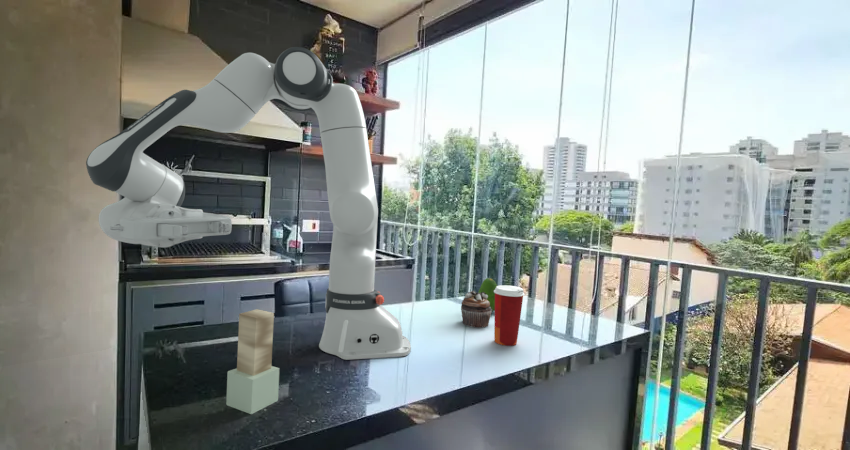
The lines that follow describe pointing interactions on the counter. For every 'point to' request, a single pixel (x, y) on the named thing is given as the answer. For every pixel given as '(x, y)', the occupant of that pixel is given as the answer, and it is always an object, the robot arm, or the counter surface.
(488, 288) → the avocado
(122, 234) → the robot arm
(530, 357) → the counter surface
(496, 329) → the coffee cup
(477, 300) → the cupcake
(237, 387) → the sage block
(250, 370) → the maple pillar
